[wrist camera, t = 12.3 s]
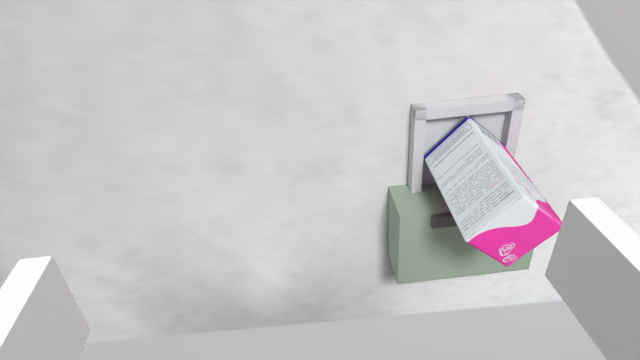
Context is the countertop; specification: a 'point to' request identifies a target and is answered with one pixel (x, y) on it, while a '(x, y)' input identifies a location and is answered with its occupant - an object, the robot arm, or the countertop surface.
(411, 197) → the sliding drawer box
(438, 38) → the countertop surface
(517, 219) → the supplement box
